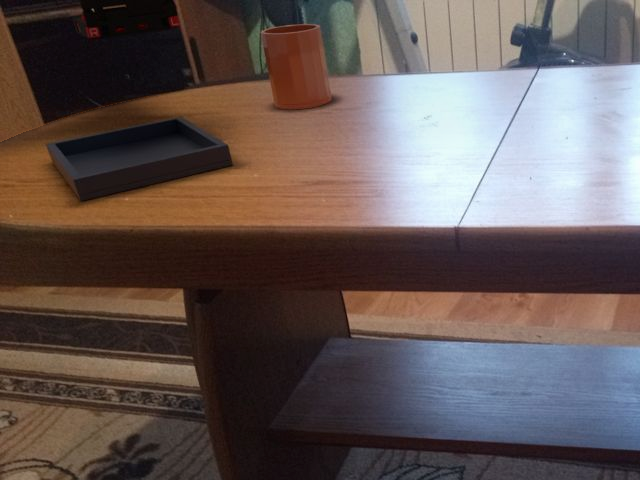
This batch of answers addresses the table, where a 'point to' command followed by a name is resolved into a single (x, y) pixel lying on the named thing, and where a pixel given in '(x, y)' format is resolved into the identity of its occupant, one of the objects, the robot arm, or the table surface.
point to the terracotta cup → (296, 66)
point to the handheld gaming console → (125, 17)
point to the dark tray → (136, 156)
